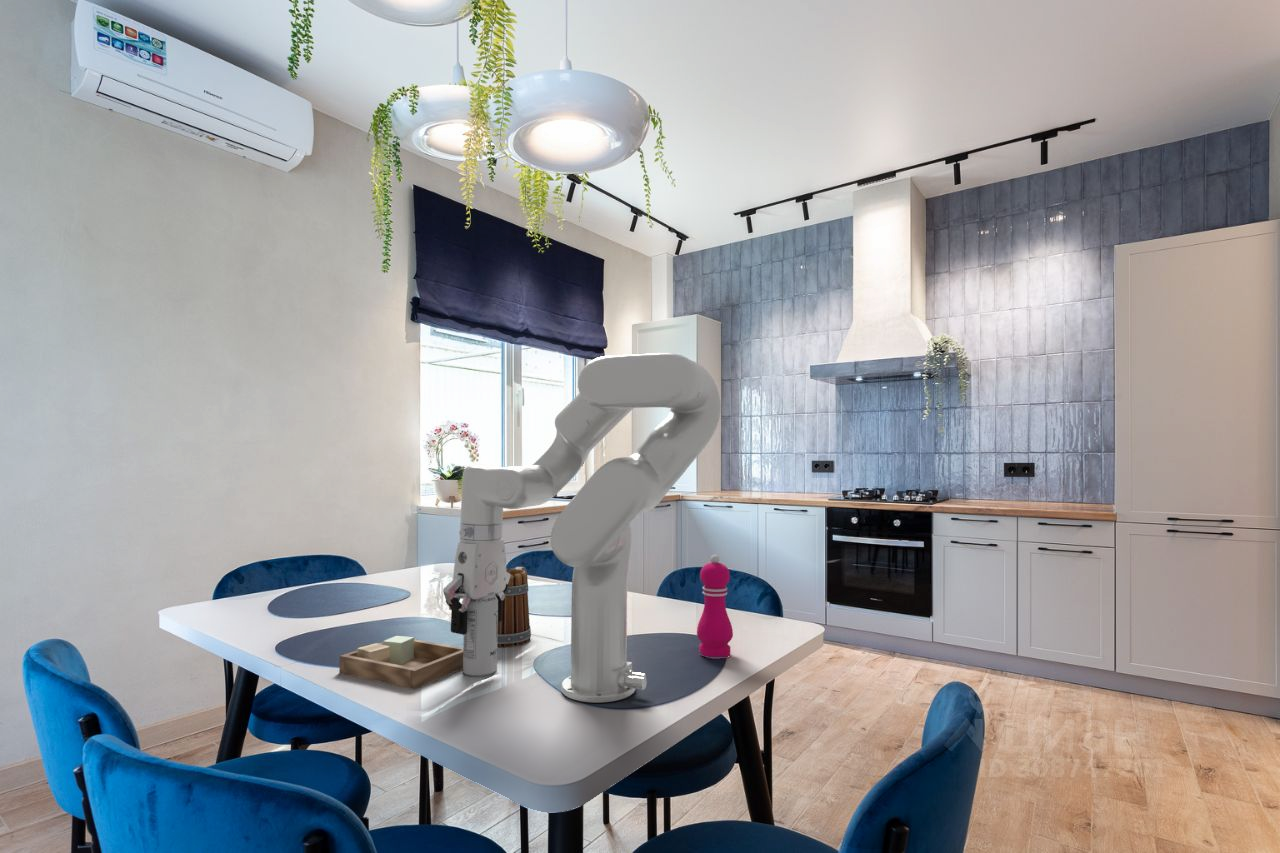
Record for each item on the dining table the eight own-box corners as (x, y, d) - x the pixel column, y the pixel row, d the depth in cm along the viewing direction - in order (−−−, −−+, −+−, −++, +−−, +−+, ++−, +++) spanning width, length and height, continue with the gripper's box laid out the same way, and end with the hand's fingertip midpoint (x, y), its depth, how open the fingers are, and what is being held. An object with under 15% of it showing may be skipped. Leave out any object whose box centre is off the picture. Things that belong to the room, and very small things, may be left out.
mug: (519, 651, 134) (520, 577, 135) (471, 648, 136) (472, 575, 137) (546, 631, 150) (546, 565, 150) (502, 629, 152) (503, 563, 152)
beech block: (389, 668, 121) (390, 646, 122) (370, 674, 118) (370, 652, 118) (376, 664, 124) (376, 643, 124) (356, 670, 120) (357, 648, 121)
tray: (470, 668, 124) (470, 648, 124) (414, 692, 111) (414, 670, 111) (398, 655, 132) (399, 636, 132) (339, 676, 119) (339, 655, 119)
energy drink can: (499, 678, 119) (500, 593, 119) (464, 682, 116) (466, 596, 117) (494, 668, 124) (495, 587, 125) (460, 671, 122) (462, 589, 123)
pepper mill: (715, 662, 128) (715, 558, 129) (689, 653, 134) (689, 554, 135) (740, 655, 133) (740, 555, 134) (714, 647, 138) (714, 551, 139)
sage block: (413, 658, 128) (414, 637, 128) (400, 664, 124) (401, 642, 124) (395, 656, 129) (396, 635, 129) (382, 662, 125) (383, 641, 125)
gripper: (465, 540, 112) (460, 642, 111) (525, 530, 127) (521, 619, 127) (431, 535, 115) (426, 634, 115) (494, 526, 131) (490, 613, 130)
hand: (476, 626), depth 121 cm, fingers open, 9 cm apart
